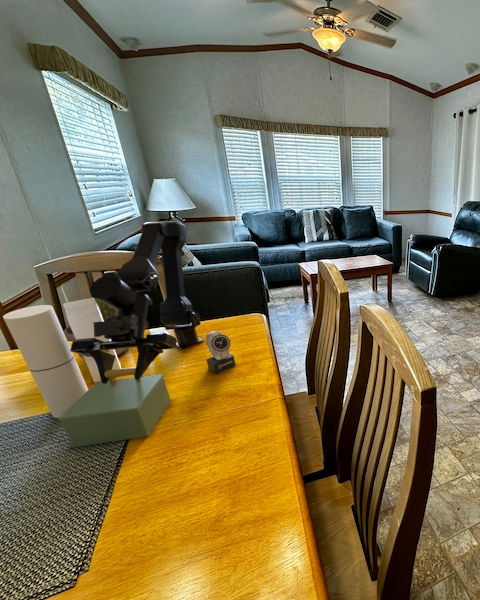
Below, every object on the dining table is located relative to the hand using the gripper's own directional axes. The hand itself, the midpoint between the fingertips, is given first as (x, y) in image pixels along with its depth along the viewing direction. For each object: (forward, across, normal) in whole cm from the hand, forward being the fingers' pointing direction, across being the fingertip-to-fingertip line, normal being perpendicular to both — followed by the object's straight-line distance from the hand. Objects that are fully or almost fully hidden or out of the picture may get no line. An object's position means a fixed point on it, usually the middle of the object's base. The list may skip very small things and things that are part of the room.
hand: (120, 381), depth 72 cm
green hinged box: (+8, 0, +4) cm, 9 cm away
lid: (+3, 0, 0) cm, 3 cm away
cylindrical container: (+3, -15, +10) cm, 19 cm away
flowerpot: (-16, -22, +29) cm, 39 cm away
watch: (-5, +15, +18) cm, 24 cm away
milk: (-7, -15, +20) cm, 27 cm away
